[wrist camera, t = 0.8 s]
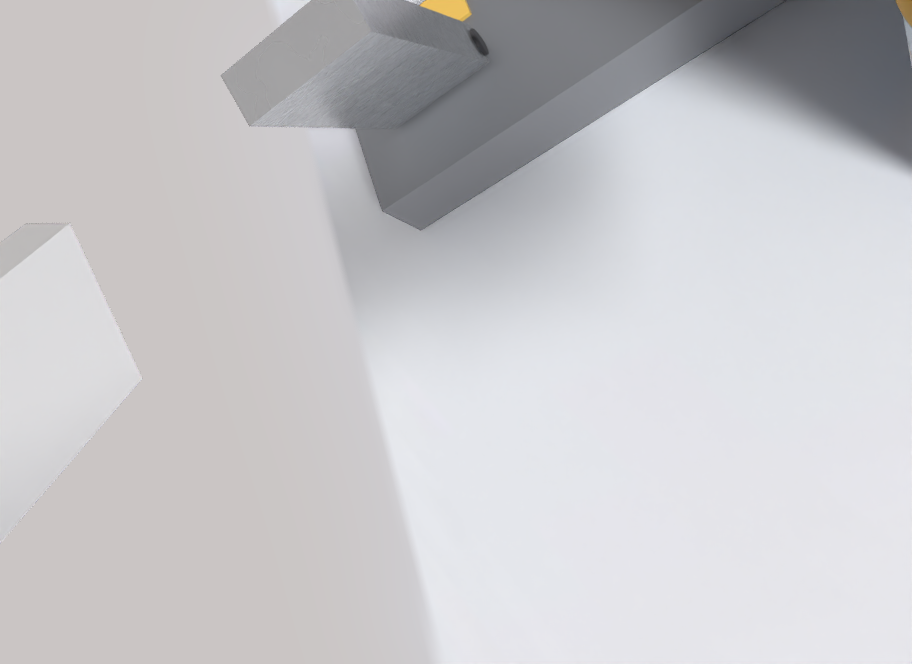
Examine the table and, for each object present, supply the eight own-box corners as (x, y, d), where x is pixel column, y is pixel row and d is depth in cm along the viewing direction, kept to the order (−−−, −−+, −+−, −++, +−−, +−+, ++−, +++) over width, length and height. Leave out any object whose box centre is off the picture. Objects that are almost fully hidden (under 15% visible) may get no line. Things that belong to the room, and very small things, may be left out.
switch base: (907, -77, 30) (900, -135, 27) (421, 230, 38) (379, 209, 36) (804, -221, 32) (789, -286, 30) (375, 95, 41) (333, 67, 39)
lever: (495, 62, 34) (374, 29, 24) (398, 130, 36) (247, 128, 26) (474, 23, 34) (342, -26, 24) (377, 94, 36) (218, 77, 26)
